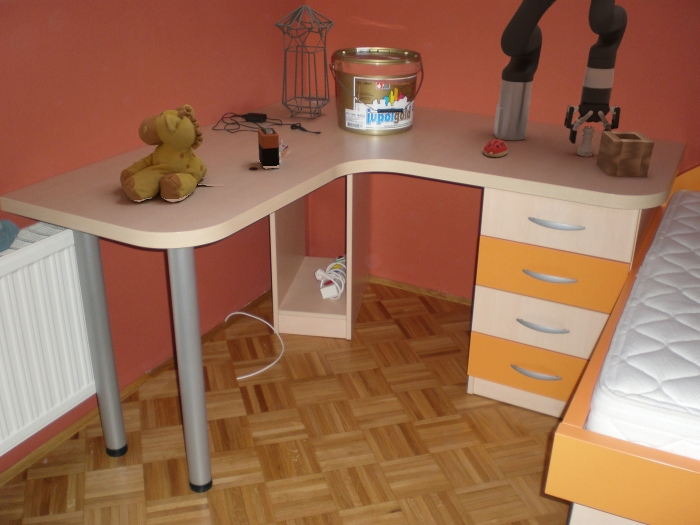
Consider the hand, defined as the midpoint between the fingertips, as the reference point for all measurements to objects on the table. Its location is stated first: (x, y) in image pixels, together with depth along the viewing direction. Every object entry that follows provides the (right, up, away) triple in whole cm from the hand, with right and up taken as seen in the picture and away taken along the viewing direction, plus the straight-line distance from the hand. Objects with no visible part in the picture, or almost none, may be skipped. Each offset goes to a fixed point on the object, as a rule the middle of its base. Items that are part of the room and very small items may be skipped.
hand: (588, 143), depth 185 cm
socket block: (+5, -9, -10) cm, 14 cm away
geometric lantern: (-82, +16, +37) cm, 91 cm away
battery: (-88, -8, -12) cm, 89 cm away
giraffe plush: (-110, -16, -29) cm, 114 cm away
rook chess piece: (0, -3, +2) cm, 4 cm away
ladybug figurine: (-26, -3, +2) cm, 26 cm away
